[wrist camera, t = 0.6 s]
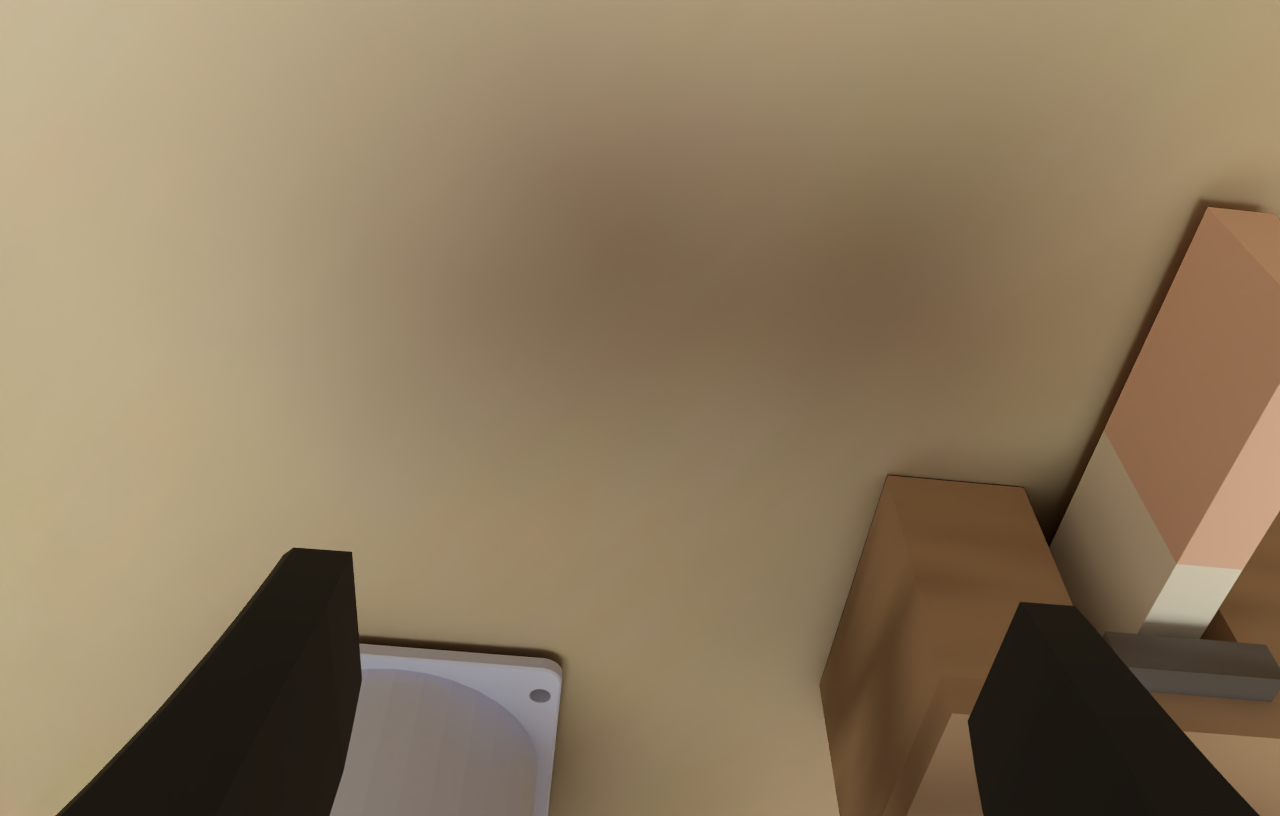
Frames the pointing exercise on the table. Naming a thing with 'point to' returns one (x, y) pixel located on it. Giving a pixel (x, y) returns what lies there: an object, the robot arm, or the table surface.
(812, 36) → the table surface
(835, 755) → the dispenser
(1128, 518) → the pink flat bar
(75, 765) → the table surface
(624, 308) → the table surface
